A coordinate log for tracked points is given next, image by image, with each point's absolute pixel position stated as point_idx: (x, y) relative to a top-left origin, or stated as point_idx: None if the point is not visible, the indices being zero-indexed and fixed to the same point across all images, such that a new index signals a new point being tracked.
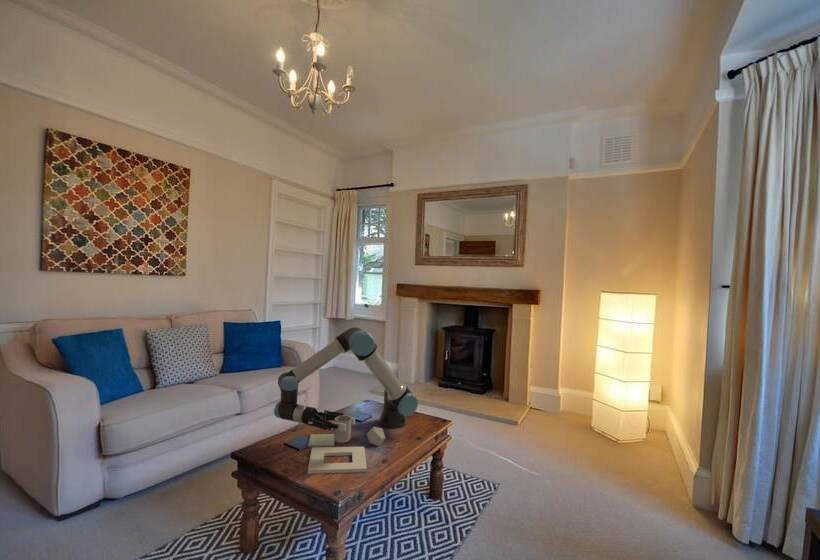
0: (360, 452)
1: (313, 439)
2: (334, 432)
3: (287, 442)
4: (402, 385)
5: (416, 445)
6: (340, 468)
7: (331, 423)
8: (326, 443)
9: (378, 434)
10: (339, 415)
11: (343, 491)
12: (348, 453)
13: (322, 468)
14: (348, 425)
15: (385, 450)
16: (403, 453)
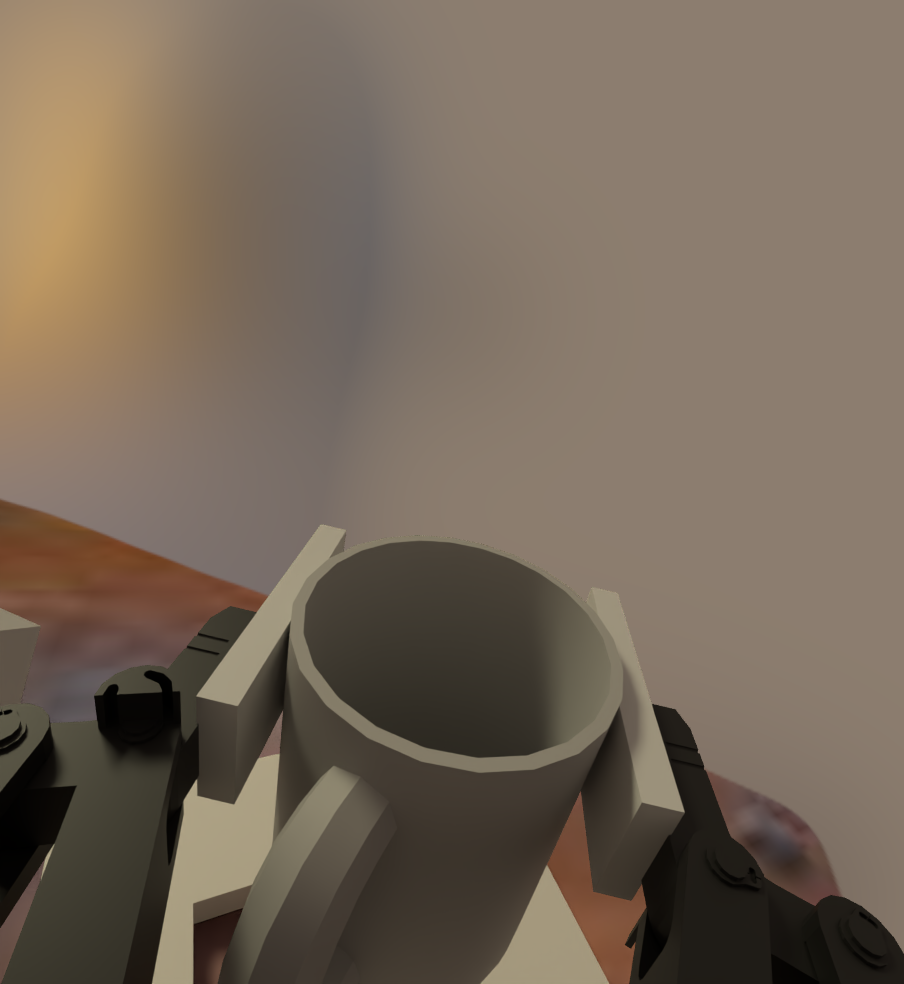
0: (206, 809)
1: None
2: (513, 916)
3: None
4: None
5: (73, 527)
6: (560, 916)
7: (679, 845)
8: None
9: (6, 625)
10: (173, 770)
11: (734, 817)
12: (192, 961)
13: None
14: (496, 610)
15: (116, 659)
16: (181, 576)
